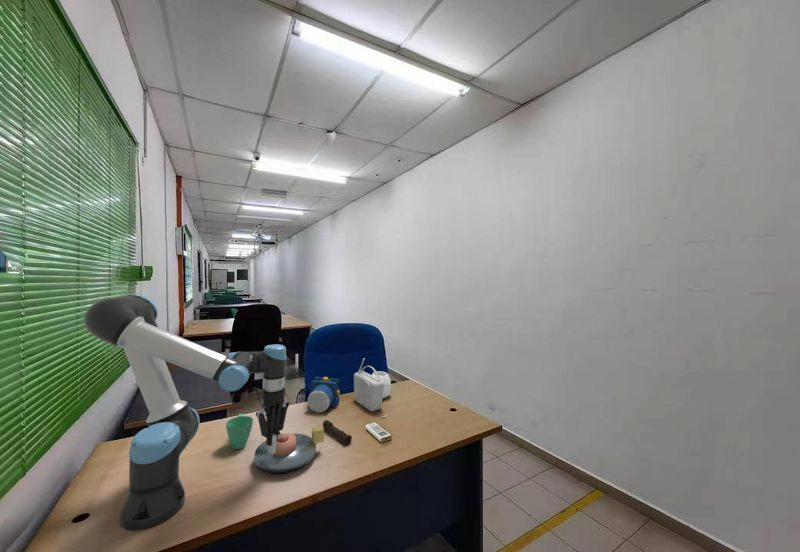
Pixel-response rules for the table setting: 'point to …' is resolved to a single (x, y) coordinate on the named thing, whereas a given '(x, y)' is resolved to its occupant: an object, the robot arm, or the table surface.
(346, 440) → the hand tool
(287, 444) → the cover
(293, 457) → the turntable
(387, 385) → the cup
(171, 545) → the table surface
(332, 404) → the valve
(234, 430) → the mug
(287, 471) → the turntable base
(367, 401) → the radio
